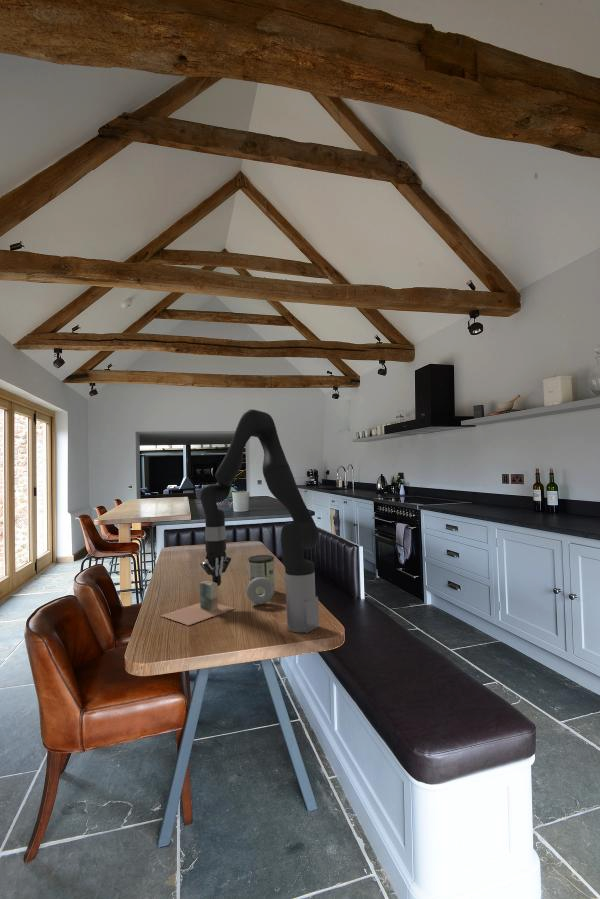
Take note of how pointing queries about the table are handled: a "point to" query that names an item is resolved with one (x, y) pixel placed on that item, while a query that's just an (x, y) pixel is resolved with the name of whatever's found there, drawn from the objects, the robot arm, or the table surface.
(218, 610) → the mat
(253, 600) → the donut
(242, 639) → the table surface
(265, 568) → the coffee can
